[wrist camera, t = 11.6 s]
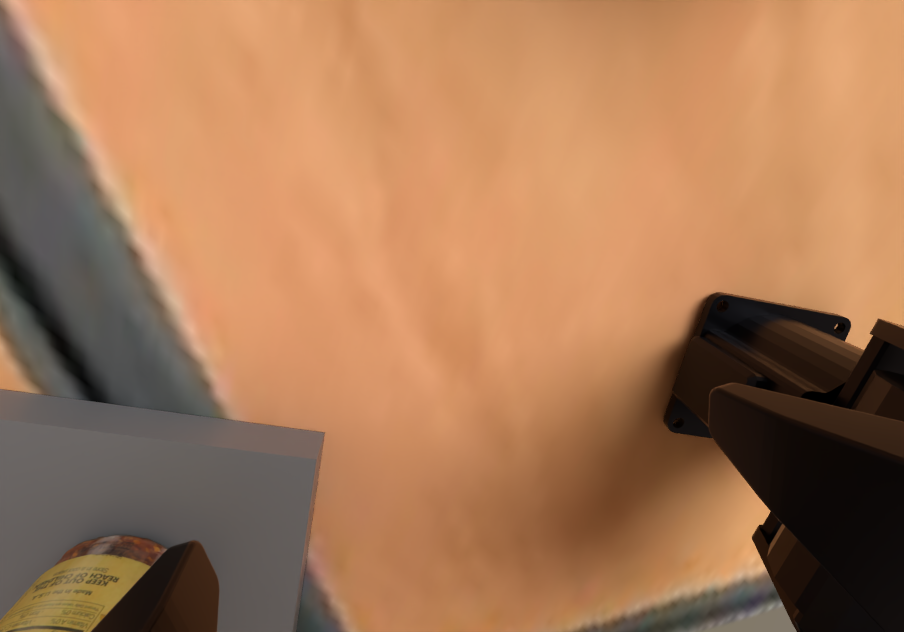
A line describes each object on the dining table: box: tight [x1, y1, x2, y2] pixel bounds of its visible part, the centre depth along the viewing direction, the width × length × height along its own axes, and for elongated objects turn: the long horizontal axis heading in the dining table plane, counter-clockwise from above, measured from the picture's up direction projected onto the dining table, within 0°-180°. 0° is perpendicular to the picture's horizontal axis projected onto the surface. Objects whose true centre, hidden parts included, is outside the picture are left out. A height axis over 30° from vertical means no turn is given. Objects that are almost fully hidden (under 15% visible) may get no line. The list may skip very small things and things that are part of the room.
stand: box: [0, 389, 325, 632], centre depth 22 cm, size 14×14×2 cm
